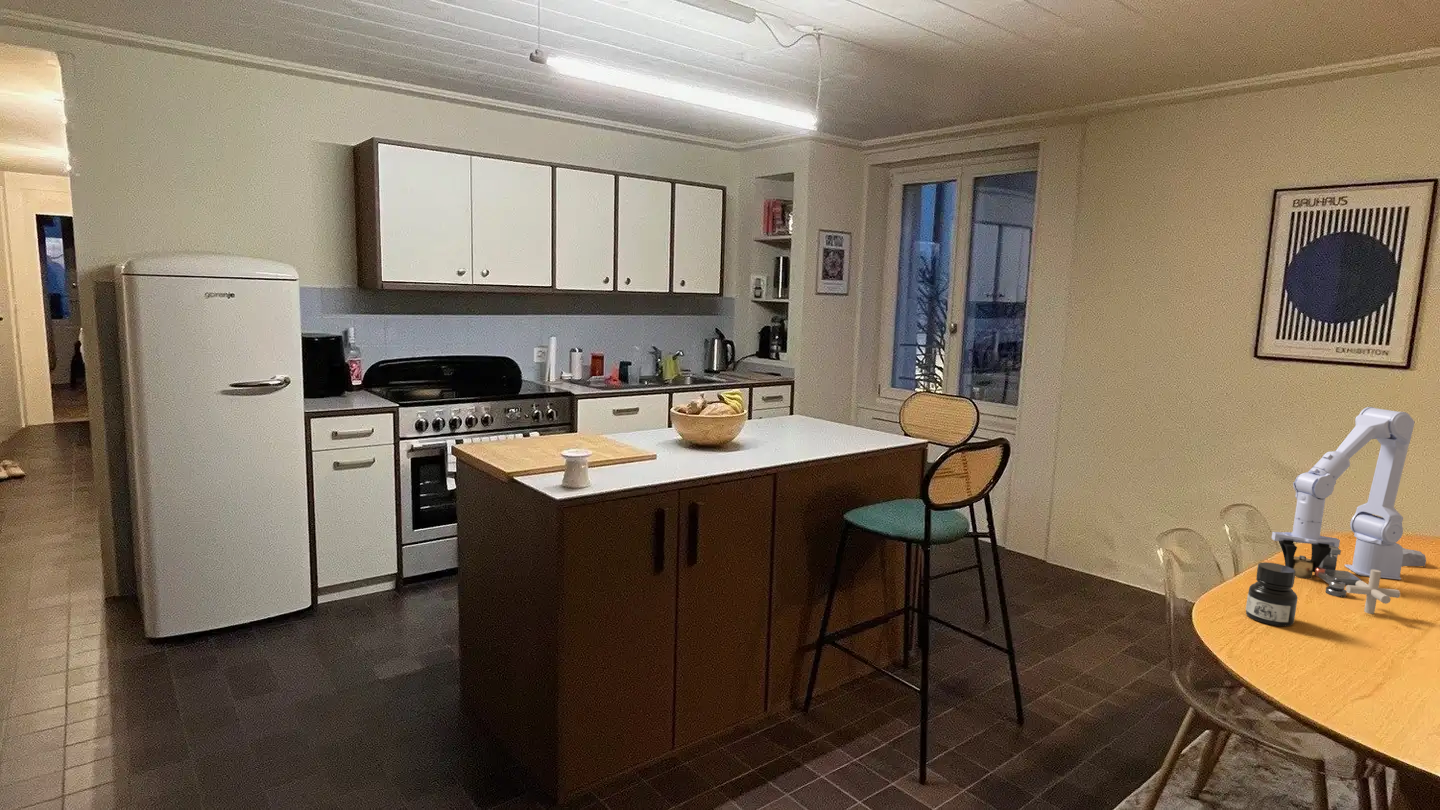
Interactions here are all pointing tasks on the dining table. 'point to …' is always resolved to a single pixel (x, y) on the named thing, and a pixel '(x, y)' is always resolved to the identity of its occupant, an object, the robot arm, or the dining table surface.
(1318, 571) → the lever
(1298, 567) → the housing
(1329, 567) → the press
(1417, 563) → the stone block
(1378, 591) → the pipe connector
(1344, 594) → the lever base
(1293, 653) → the dining table surface
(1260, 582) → the ink bottle
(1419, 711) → the dining table surface
